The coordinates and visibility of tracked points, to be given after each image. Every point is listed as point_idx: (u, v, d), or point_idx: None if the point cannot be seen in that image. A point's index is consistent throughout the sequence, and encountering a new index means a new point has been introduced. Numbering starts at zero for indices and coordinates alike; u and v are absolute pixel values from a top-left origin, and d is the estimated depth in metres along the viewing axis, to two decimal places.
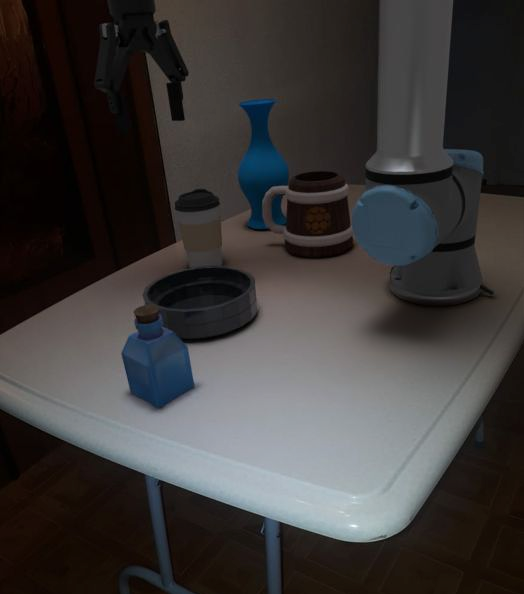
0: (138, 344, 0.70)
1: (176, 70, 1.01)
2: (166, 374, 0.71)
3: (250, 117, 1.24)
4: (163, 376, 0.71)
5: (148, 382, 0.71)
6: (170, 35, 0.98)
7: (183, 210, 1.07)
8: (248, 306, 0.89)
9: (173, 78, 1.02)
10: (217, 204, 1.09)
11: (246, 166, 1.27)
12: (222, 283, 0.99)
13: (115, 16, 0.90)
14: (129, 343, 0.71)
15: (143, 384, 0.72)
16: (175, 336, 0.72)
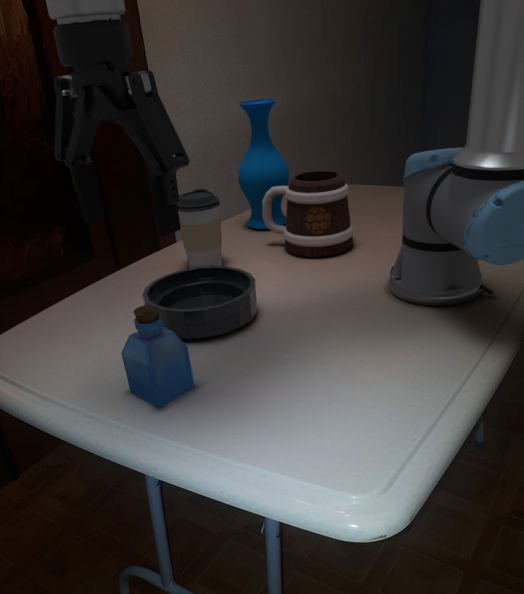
0: (138, 344, 0.70)
1: (150, 157, 0.58)
2: (166, 374, 0.71)
3: (250, 117, 1.24)
4: (163, 376, 0.71)
5: (148, 382, 0.71)
6: (139, 99, 0.56)
7: (183, 210, 1.07)
8: (248, 306, 0.89)
9: None
10: (217, 204, 1.09)
11: (246, 166, 1.27)
12: (222, 283, 0.99)
13: None
14: (129, 343, 0.71)
15: (143, 384, 0.72)
16: (175, 336, 0.72)
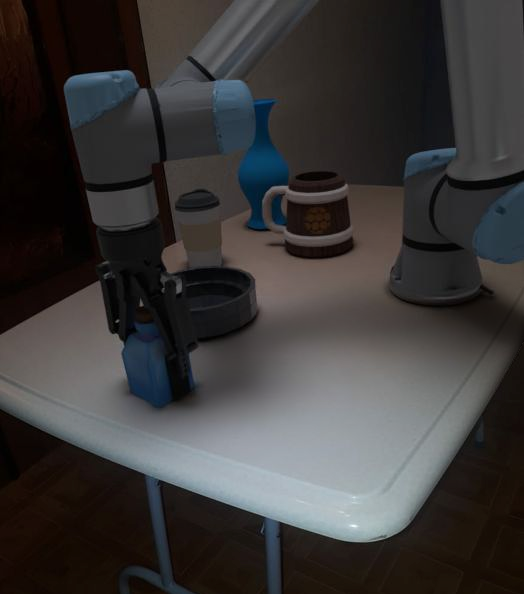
0: (138, 344, 0.70)
1: (168, 342, 0.68)
2: (166, 374, 0.71)
3: None
4: (163, 376, 0.71)
5: (148, 382, 0.71)
6: (170, 301, 0.64)
7: (183, 210, 1.07)
8: (248, 306, 0.89)
9: None
10: (217, 204, 1.09)
11: (246, 166, 1.27)
12: (222, 283, 0.99)
13: None
14: (129, 343, 0.71)
15: (143, 384, 0.72)
16: None
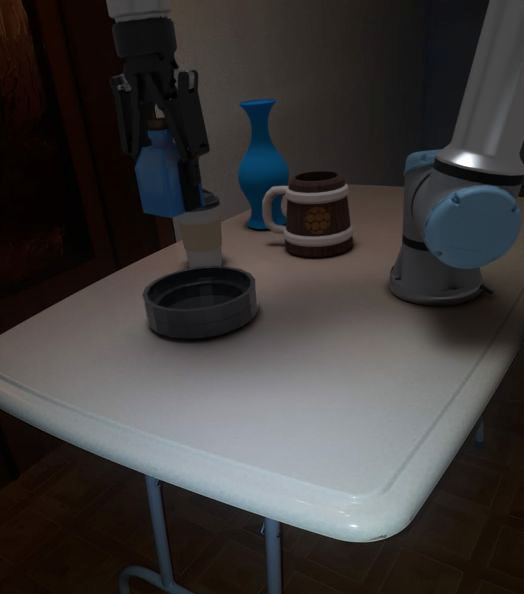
0: (152, 153, 0.73)
1: (181, 145, 0.72)
2: (178, 183, 0.75)
3: (250, 117, 1.24)
4: (175, 184, 0.74)
5: (161, 190, 0.74)
6: (183, 94, 0.68)
7: None
8: (248, 306, 0.89)
9: None
10: (217, 204, 1.09)
11: (246, 166, 1.27)
12: (222, 283, 0.99)
13: None
14: (142, 155, 0.75)
15: (156, 195, 0.75)
16: None
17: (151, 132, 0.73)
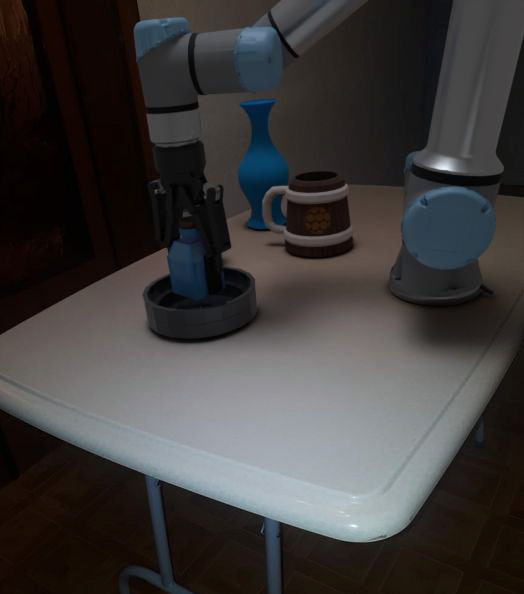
0: (182, 247, 0.87)
1: (207, 243, 0.85)
2: (204, 272, 0.88)
3: (250, 117, 1.24)
4: (201, 273, 0.87)
5: (189, 278, 0.87)
6: (210, 205, 0.81)
7: (183, 210, 1.07)
8: (248, 306, 0.89)
9: None
10: None
11: (246, 166, 1.27)
12: None
13: None
14: (174, 247, 0.88)
15: (185, 281, 0.89)
16: None
17: (182, 230, 0.86)
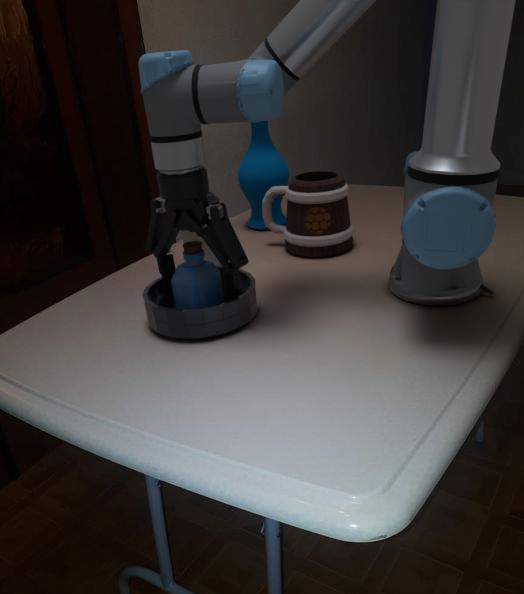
0: (186, 271, 0.89)
1: (222, 259, 0.84)
2: (207, 296, 0.90)
3: None
4: (205, 297, 0.90)
5: (193, 302, 0.89)
6: (216, 223, 0.82)
7: None
8: (248, 306, 0.89)
9: None
10: None
11: (246, 166, 1.27)
12: None
13: None
14: (178, 271, 0.90)
15: (189, 304, 0.91)
16: (214, 266, 0.90)
17: (186, 255, 0.88)
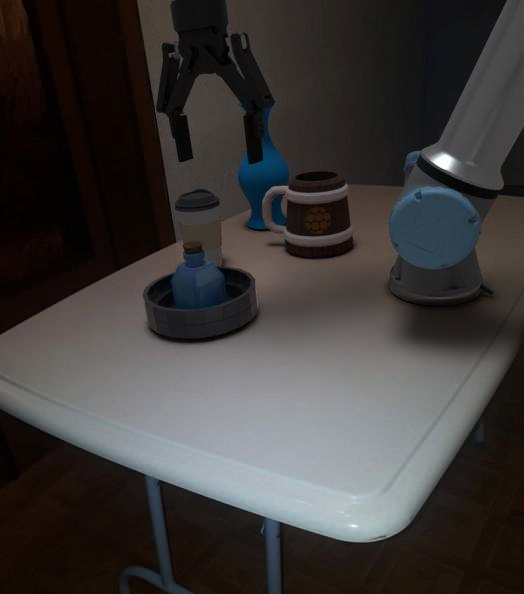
0: (186, 271, 0.89)
1: (244, 99, 0.75)
2: (207, 296, 0.90)
3: None
4: (205, 297, 0.90)
5: (193, 302, 0.89)
6: (238, 54, 0.73)
7: (183, 210, 1.07)
8: (248, 306, 0.89)
9: None
10: (217, 204, 1.09)
11: (246, 166, 1.27)
12: None
13: None
14: (178, 271, 0.90)
15: (189, 304, 0.91)
16: (214, 266, 0.90)
17: (186, 255, 0.88)
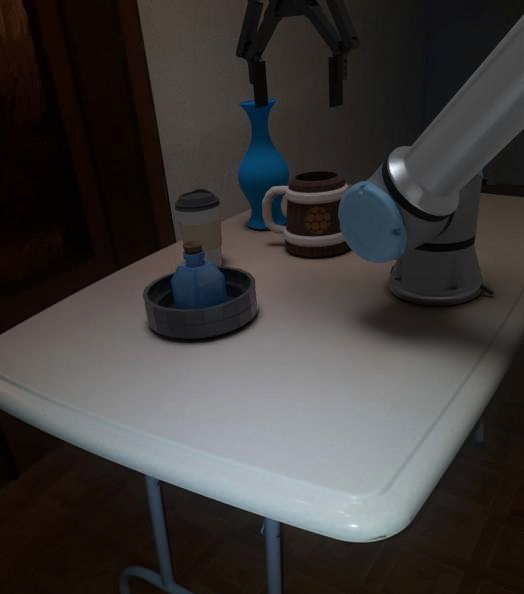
0: (186, 271, 0.89)
1: (331, 41, 0.77)
2: (207, 296, 0.90)
3: (250, 117, 1.24)
4: (205, 297, 0.90)
5: (193, 302, 0.89)
6: None
7: (183, 210, 1.07)
8: (248, 306, 0.89)
9: None
10: (217, 204, 1.09)
11: (246, 166, 1.27)
12: None
13: None
14: (178, 271, 0.90)
15: (189, 304, 0.91)
16: (214, 266, 0.90)
17: (186, 255, 0.88)
